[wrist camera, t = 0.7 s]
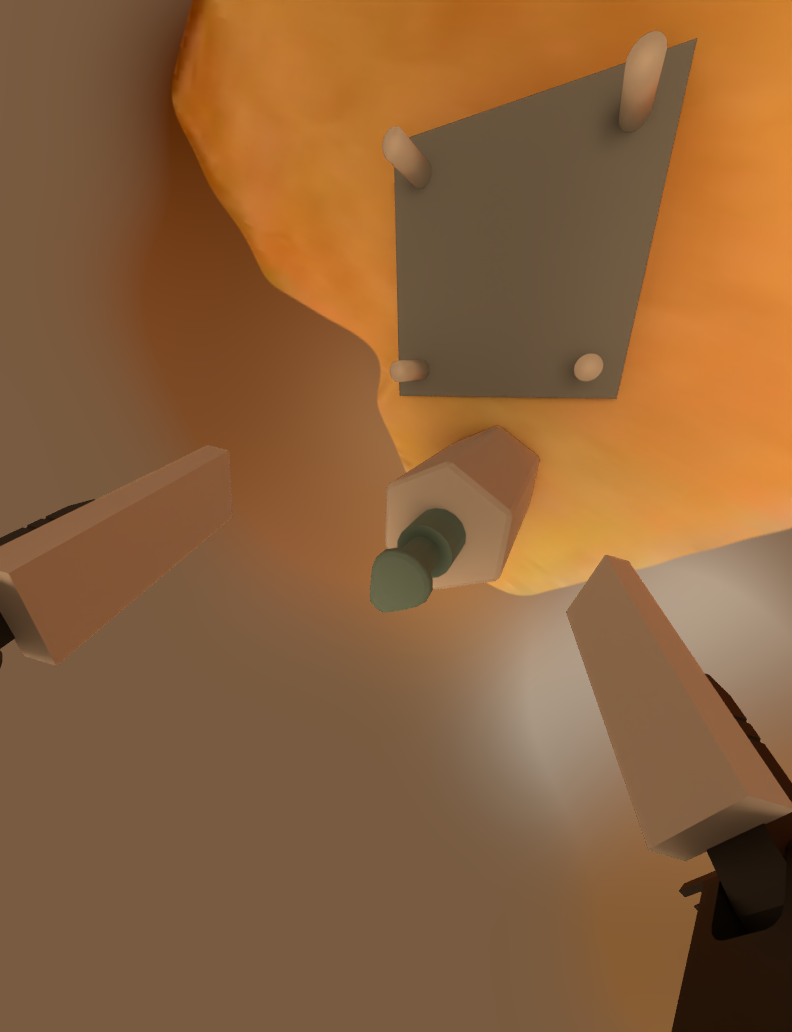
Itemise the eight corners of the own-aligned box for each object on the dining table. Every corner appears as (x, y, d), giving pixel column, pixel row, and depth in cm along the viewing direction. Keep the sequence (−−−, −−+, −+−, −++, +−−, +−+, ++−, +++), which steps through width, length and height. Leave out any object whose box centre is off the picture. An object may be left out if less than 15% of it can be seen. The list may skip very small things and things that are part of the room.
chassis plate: (401, 151, 30) (361, 107, 24) (690, 56, 21) (724, -44, 16) (405, 394, 38) (376, 400, 33) (615, 397, 29) (621, 405, 24)
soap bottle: (431, 474, 40) (305, 567, 22) (479, 408, 35) (365, 462, 17) (500, 531, 39) (425, 678, 21) (561, 472, 34) (529, 602, 16)
